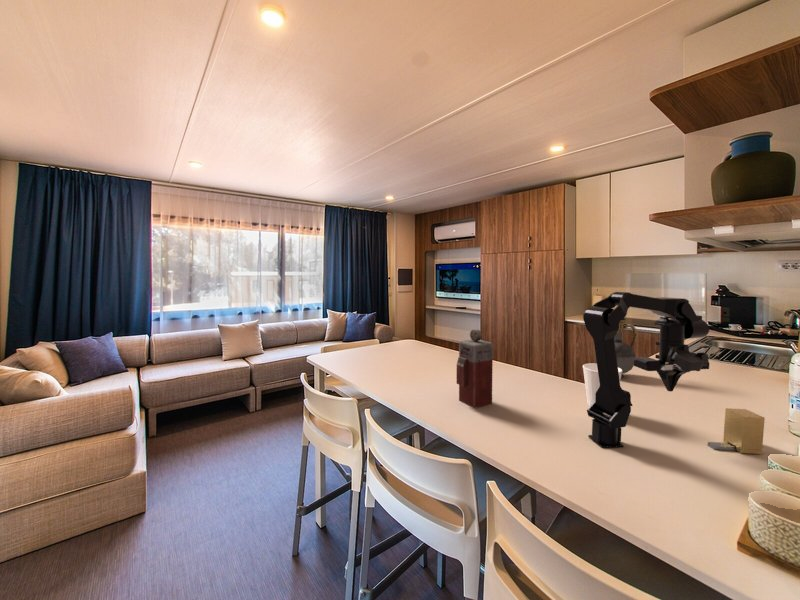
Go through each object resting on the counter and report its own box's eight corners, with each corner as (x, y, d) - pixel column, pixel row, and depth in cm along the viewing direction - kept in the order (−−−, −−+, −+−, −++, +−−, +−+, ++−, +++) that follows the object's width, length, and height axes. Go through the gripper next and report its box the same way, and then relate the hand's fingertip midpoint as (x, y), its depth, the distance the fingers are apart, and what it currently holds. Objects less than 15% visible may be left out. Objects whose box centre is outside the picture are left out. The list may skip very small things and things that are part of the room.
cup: (584, 416, 113) (585, 370, 111) (578, 404, 124) (579, 361, 122) (625, 421, 108) (627, 374, 107) (615, 408, 120) (617, 364, 118)
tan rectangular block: (740, 452, 89) (743, 416, 88) (723, 442, 94) (725, 408, 94) (761, 454, 88) (764, 417, 87) (742, 443, 94) (745, 409, 93)
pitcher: (591, 374, 160) (593, 312, 158) (624, 371, 164) (626, 311, 162) (609, 381, 150) (612, 315, 147) (644, 377, 154) (647, 313, 151)
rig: (714, 449, 91) (715, 428, 90) (690, 434, 100) (691, 414, 99) (769, 452, 89) (770, 430, 89) (740, 436, 98) (741, 416, 98)
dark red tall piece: (453, 401, 127) (454, 329, 125) (476, 396, 133) (476, 326, 130) (469, 409, 119) (469, 332, 117) (492, 403, 125) (493, 330, 123)
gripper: (663, 346, 90) (661, 402, 91) (730, 344, 90) (727, 400, 92) (633, 338, 101) (631, 388, 102) (692, 336, 102) (690, 386, 103)
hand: (669, 391), depth 99 cm, fingers closed
